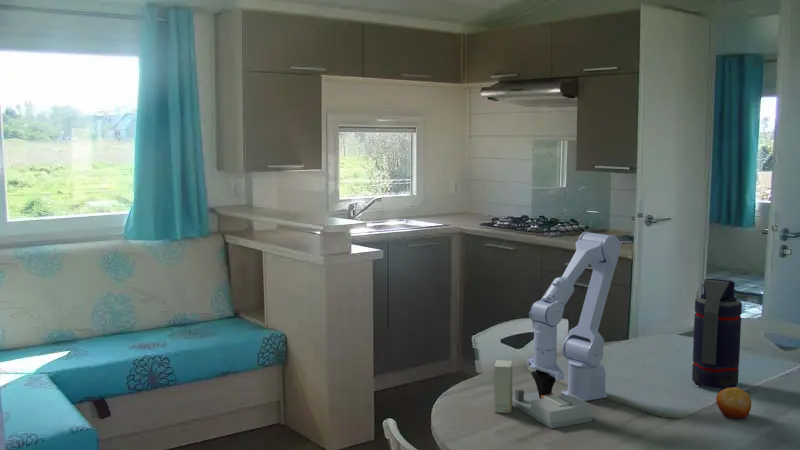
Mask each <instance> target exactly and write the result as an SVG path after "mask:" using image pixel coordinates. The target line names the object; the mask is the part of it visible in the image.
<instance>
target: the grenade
mask: <svg viewBox="0 0 800 450" xmlns="http://www.w3.org/2000/svg"><path fill="white" fill-rule="evenodd" d="M735 285H736V283H735V281H733V280H730V279H728V280H727V279H719V278H704V279H703V283H701V284H700V286H699V287H698V289H697V291H696V295H695V297H696V298H695V300H694V312H695V313H694V318H693V319H694V321H693V325H694V326H693V342H692V343H693V347H692V348H693V349H692V362H693V363H692V369H691V380H692V381H693V382H694V385H695V384H696V385H698V386H700V387H701V386H703V387H708V388H714V389H720V391H722V390H723V389H726V388H732V387H737V386H738V384H739V370H740V369H739V367H740V352H741V330H742V329H741V327H742V326H741V325H742V317H741V316H742V310H743V304H742V301H740V300H738V299H737V297H735ZM701 287H702V288H701ZM700 289H701V291H700ZM699 292H700V293H699ZM702 292H703V293H702Z"/></svg>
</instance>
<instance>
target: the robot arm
mask: <svg viewBox="0 0 800 450" xmlns="http://www.w3.org/2000/svg"><path fill="white" fill-rule="evenodd" d="M621 248H622V246H621V244H620V242H619V239H618V238H617V236H615V235H614V234H603V233H595V232H590V231H583V232H582V233H581V234H580V235H579V237H578V239H577V241H576V242H575V250H576V251H575V252H574V254H573V256H572V258H571V259H570V261H569V262H568V265H567V267H566V269H565V271H564V272H563V274H562V275H561V276H559V277H555V278H554V279H553V281H552V282H551V284H550V286H548V289H547V290H546V291H545V293H543V296H542V297H541V299H540V300H537V301H535V302H534V303H532V305H531V307H530V311H529V312H528V316H529V319H530V321H531V322H532V323H531V324H532V325H531V326H532V328H533V356H527V357H526V365H527V366H529V368H530V369H531V370H533V371H531V373H530V374H531V376H532V377H533V380H534V382H535V385H536V388H537V392H538V393H539V397H540V399H541V395H547V394H551V390H552V391H553V387H554V385H555V383H556V381H562V380H565V372H564V371H563V370H562V369H561V368H560V366H559V365H558V364H557V353H558V352H557V349H558V348H557V346H558V342H557V340H558V337H557V336H558V325H559V324H560V322H561V321H562V319H563V316H564V315H563V314H564V311H565V305H566V304H567V302H568V301H569V300H570V298H571V296H572V295H573V293H574V292H575V287H574V284H575V282H576V281H577V280H578V279H579V278H580V276H581V275H582V274H583V272H584V271H585V270H586V268H587V267H588V266H589V265H590V267H591V268H592V273H591V277H590V280H589V284H588V287H587V291H586V294H585V298H584V302H583V306H582V310H581V313H580V316H579V321H578V323H577V325H576V326H575V327H573V328H571V329H569V331H568V333H567V336H566V338H565V339H564V341H563V343H562V346H561V353H562V355H563V357H564V358H565V359H566V363H568V369H567V370H568V372H567V374H568V375H567V390H566V389H565V390H561V391H560V392H561V394H562V395H568V394H573V395H575V396H576V397H578V398H580V399H582V400H584V401H586V402H587V401H592V400H593V401H594V400H598V399H605V398H607V397H608V395H607V394H606V379H607V378H606V376H607V374H606V369H605V367H604V365H603V363H601V362H602V360H603V358H604V344H605V340H604V338H603V336H602V335H601V334H600V332H599V329H600V324H601V322H602V321H601V320H602V316H603V314H604V310H605V305H606V302H607V298H608V295H609V291H610V289H611V283H612V281H613V277H614V274H615V270H616V269H615V268H616V267H617V264H618V260H619V256H620V253H621V252H620V251H621Z"/></svg>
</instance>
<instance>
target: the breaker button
mask: <svg viewBox="0 0 800 450" xmlns="http://www.w3.org/2000/svg"><path fill="white" fill-rule="evenodd" d="M543 398H545V399H547V400H549V401H550V402H552V403H554V404H555V405H557V406H559V407H566V406H569V403H567V402H566V401H564V400H562V399H560V398H559V397H558V396H557V395H555V394H554V393H552V394H547V395H541V399H543Z"/></svg>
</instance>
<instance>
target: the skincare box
mask: <svg viewBox="0 0 800 450" xmlns="http://www.w3.org/2000/svg"><path fill="white" fill-rule="evenodd" d="M493 378H494V379H493V380H494V381H493V391H494V392H493V395H494V396H493V400H494V401H493V404H494V406H493V410H494V411H493V412H494V413H497V414H499V413H500V414H511V413H512V410H513V404H512V396H513V360H510V359H509V360H504V359H496V360H495V362H494V366H493Z"/></svg>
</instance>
